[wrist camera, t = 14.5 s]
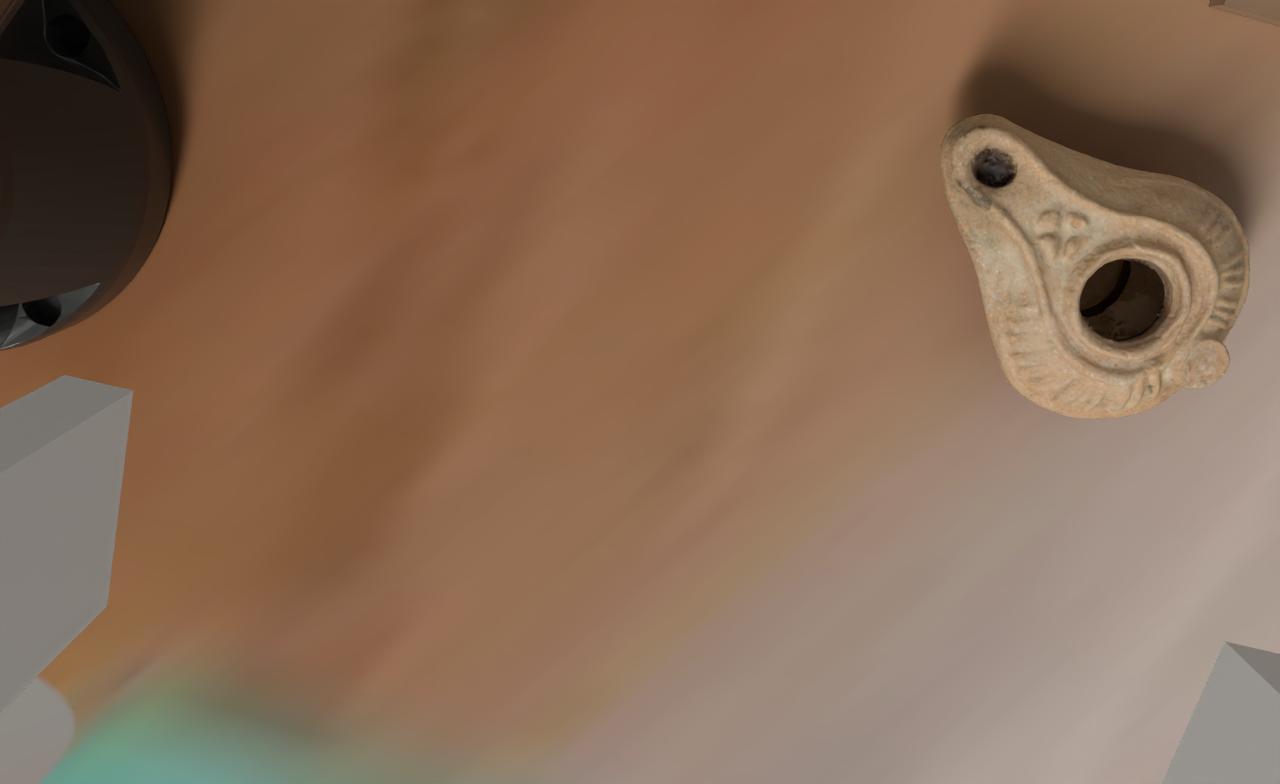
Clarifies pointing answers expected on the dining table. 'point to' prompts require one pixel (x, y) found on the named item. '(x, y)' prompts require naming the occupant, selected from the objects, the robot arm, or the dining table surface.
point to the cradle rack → (1251, 9)
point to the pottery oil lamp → (1093, 269)
